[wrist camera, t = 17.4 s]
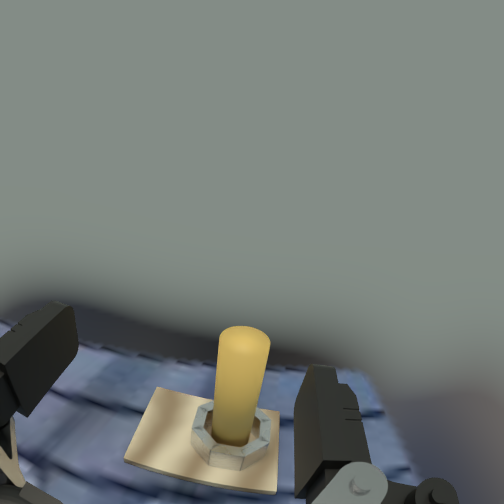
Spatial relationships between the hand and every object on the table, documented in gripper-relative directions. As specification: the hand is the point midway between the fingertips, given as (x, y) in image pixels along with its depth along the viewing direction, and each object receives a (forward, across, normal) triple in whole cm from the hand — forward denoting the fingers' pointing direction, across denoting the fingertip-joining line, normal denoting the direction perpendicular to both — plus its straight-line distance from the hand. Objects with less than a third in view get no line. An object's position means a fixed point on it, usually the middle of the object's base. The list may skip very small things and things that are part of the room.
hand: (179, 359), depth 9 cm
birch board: (+15, 0, +26) cm, 30 cm away
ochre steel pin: (+15, -3, +25) cm, 29 cm away
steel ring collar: (+15, -3, +26) cm, 30 cm away
